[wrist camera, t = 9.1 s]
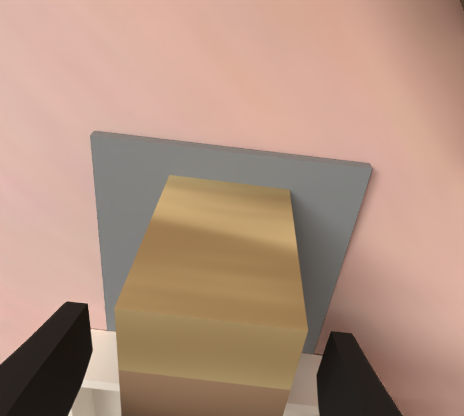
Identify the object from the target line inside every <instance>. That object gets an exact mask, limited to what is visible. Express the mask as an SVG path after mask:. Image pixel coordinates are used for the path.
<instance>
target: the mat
mask: <svg viewBox="0 0 464 416" xmlns="http://www.w3.org/2000/svg"><path fill="white" fill-rule="evenodd" d="M90 139H91V150H92V162H93V173H94V184H95V196H96V207H97V219H98V230H99V242H100V253H101V265H102V276H103V288H104V299H105V311H106V322H107V331H115V332H116V326H115V311H114V308H115V305H116V303H117V300H118V298H119V295H120V293H121V291H122V288H123V286H124V283H125V281H126V279H127V276H128V274H129V271H130V269H131V266H132V264H133V262H134V259H135V257H136V254H137V252H138V250H139V247H140V245H141V242H142V240H143V237H144V235H145V233H146V230H147V228H148V225H149V223H150V221H151V218H152V216H153V213H154V211H155V208H156V206H157V204H158V201H159V199H160V196H161V194H162V191H163V189H164V187H165V184H166V182H167V179H168V177H169V175H174V176H182V177H191V178H199V179H207V180H216V181H224V182H232V183H240V184H249V185H257V186H265V187H274V188H282V189H289V190H290V198H291V205H292V213H293V220H294V228H295V235H296V243H297V251H298V258H299V266H300V273H301V281H302V288H303V296H304V304H305V311H306V319H307V326H308V333H307V336H306V340H305V343H304V346H303V350H302V353H306V354H314V351H315V348H316V345H317V342H318V339H319V335H320V332H321V329H322V326H323V323H324V320H325V317H326V313H327V310H328V307H329V304H330V301H331V298H332V295H333V291H334V288H335V285H336V282H337V279H338V276H339V272H340V269H341V266H342V263H343V260H344V257H345V254H346V250H347V247H348V244H349V241H350V238H351V235H352V231H353V228H354V225H355V222H356V219H357V216H358V213H359V209H360V206H361V203H362V200H363V197H364V194H365V191H366V187H367V184H368V181H369V178H370V175H371V172H372V167H371V165H370V163H362V162H353V161H345V160H336V159H328V158H319V157H311V156H302V155H294V154H285V153H277V152H269V151H260V150H252V149H243V148H235V147H226V146H218V145H209V144H201V143H192V142H184V141H175V140H167V139H158V138H150V137H142V136H133V135H125V134H116V133H108V132H99V131H94V132H93V133H92V134H91V135H90Z"/></svg>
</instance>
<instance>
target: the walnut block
mask: <svg viewBox="0 0 464 416" xmlns="http://www.w3.org/2000/svg"><path fill="white" fill-rule="evenodd" d="M114 311H115V326H116V341H117V356H118V371H119V386H120V401H121V416H283V413H284V410H285V407H286V403H287V400H288V397H289V393H290V390H291V387H292V383H293V380H294V376H295V373H296V370H297V366H298V363H299V360H300V356H301V353H302V350H303V346H304V343H305V340H306V336H307V333H308V326H307V319H306V311H305V304H304V296H303V288H302V281H301V273H300V266H299V258H298V251H297V243H296V235H295V228H294V220H293V213H292V205H291V198H290V190H289V189H282V188H274V187H265V186H257V185H249V184H240V183H232V182H224V181H216V180H207V179H199V178H191V177H182V176H174V175H169V177H168V179H167V182H166V184H165V187H164V189H163V191H162V194H161V196H160V199H159V201H158V204H157V206H156V208H155V211H154V213H153V216H152V218H151V221H150V223H149V225H148V228H147V230H146V233H145V235H144V237H143V240H142V242H141V245H140V247H139V250H138V252H137V254H136V257H135V259H134V262H133V264H132V266H131V269H130V271H129V274H128V276H127V279H126V281H125V283H124V286H123V288H122V291H121V293H120V295H119V298H118V300H117V303H116V305H115V308H114Z"/></svg>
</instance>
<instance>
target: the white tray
mask: <svg viewBox="0 0 464 416" xmlns="http://www.w3.org/2000/svg"><path fill="white" fill-rule="evenodd" d="M91 337H92V346H93V352H92V355H91V358H90V362H89V365H88V368H87V371H86V374H85V377H84V380H83V383H82V386H81V388H80V390H79V392H78V395H77V397H76V399H75V401H74V404H73V406H72V408H71V410H70V412H69V415H68V416H121V401H120V386H119V371H118V356H117V341H116V332H113V331H104V330H95V329H91ZM322 357H323V356H321V355H312V354H304V353H301V356H300V360H299V363H298V366H297V370H296V373H295V376H294V380H293V383H292V387H291V390H290V393H289V397H288V400H287V403H286V407H285V410H284V413H283V416H319V409H318V396H317V378H316V375H317V372H318V369H319V366H320V363H321V360H322Z"/></svg>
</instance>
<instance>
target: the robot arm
mask: <svg viewBox="0 0 464 416" xmlns="http://www.w3.org/2000/svg"><path fill="white" fill-rule="evenodd" d="M92 352H93V346H92V337H91V328H90V320H89V311H88V304H85V303H76V302H66V303H64V304H63V305H62V306H61V307H60V308H59V309H58V310H57V311H56V312H55V313H54V314H53V315H52V316H51V317H50V318H49V319H48V320H47V321H46V322H45V323H44V324H43V325H42V326H41V327H40V328H39V329H38V330H37V331H36V332H35V333H34V334H33V335H32V336H31V337H30V338H29V339H28V340H27V341H26V342H24V343H23V344H22V345H21V346H20V347H19V348H18V349H17V350H16V351H15V352H14V353H13V354H12V355H10V356H9V357H8V358H7V359H6V360H5V361H4V362H3V363H2V364H1V365H0V416H68V415H69V412H70V410H71V408H72V406H73V404H74V401H75V399H76V397H77V395H78V392H79V390H80V388H81V386H82V383H83V380H84V377H85V374H86V371H87V368H88V365H89V362H90V358H91V355H92ZM316 378H317V396H318V409H319V416H403V415H402V414H401V412H400V411H399V410H398V408H397V406H396V405H395V403H394V402H393V400H392V399H391V397H390V396H389V394H388V393H387V391H386V390H385V388H384V386H383V385H382V383H381V382H380V380H379V378H378V377H377V375H376V373H375V372H374V370H373V368H372V367H371V365H370V363H369V362H368V360H367V358H366V357H365V355H364V353H363V351H362V350H361V348H360V346H359V344H358V343H357V341H356V339H355V337H354V336H353V335H352V334H351V333H342V332H333V331H331V333H330V336H329V339H328V342H327V345H326V348H325V351H324V354H323V357H322V360H321V363H320V366H319V369H318V372H317V375H316Z"/></svg>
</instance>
